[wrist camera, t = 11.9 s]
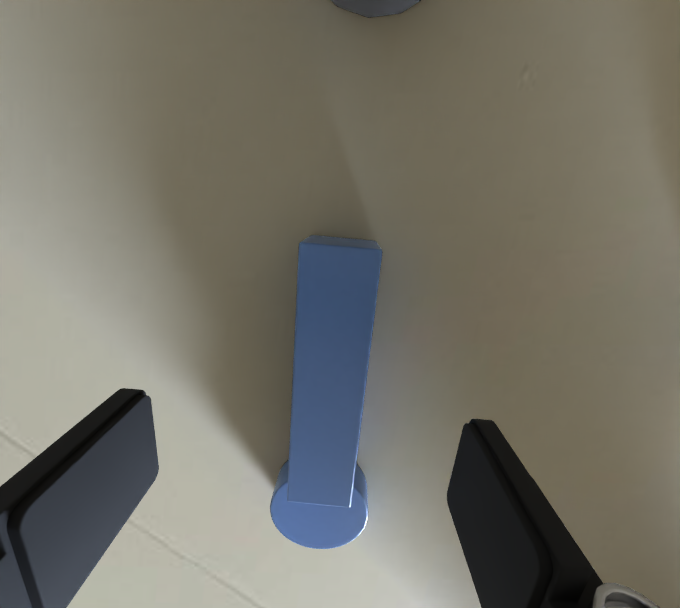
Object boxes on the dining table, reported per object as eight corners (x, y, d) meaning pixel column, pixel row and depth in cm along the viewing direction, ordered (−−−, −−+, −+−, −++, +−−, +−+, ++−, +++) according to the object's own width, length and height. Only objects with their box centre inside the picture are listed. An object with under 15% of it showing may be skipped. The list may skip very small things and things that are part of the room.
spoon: (286, 232, 14) (267, 239, 11) (400, 242, 14) (413, 252, 11) (276, 514, 19) (261, 572, 16) (361, 523, 19) (363, 583, 16)
